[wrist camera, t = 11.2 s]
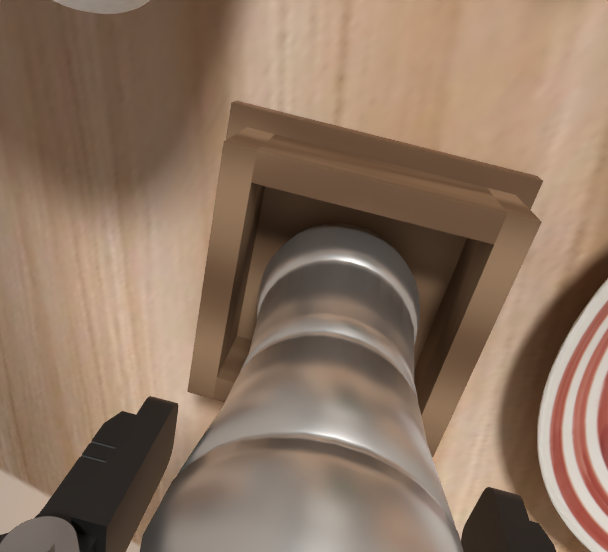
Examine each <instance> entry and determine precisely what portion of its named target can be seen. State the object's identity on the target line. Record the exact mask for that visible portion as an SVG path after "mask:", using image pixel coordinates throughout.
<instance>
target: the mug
mask: <svg viewBox="0 0 608 552" xmlns="http://www.w3.org/2000/svg"><path fill="white" fill-rule="evenodd" d="M52 1H55V2H57V3H59V4H61V5H64V6H66V7H69V8H72V9H75V10H79V11H85V12H91V13H98V14H117V13H124V12H128V11H131V10H134V9H138V8H140V7H141V6H143V5H145V4H146V3H148V2H149V1H150V0H52Z"/></svg>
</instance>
